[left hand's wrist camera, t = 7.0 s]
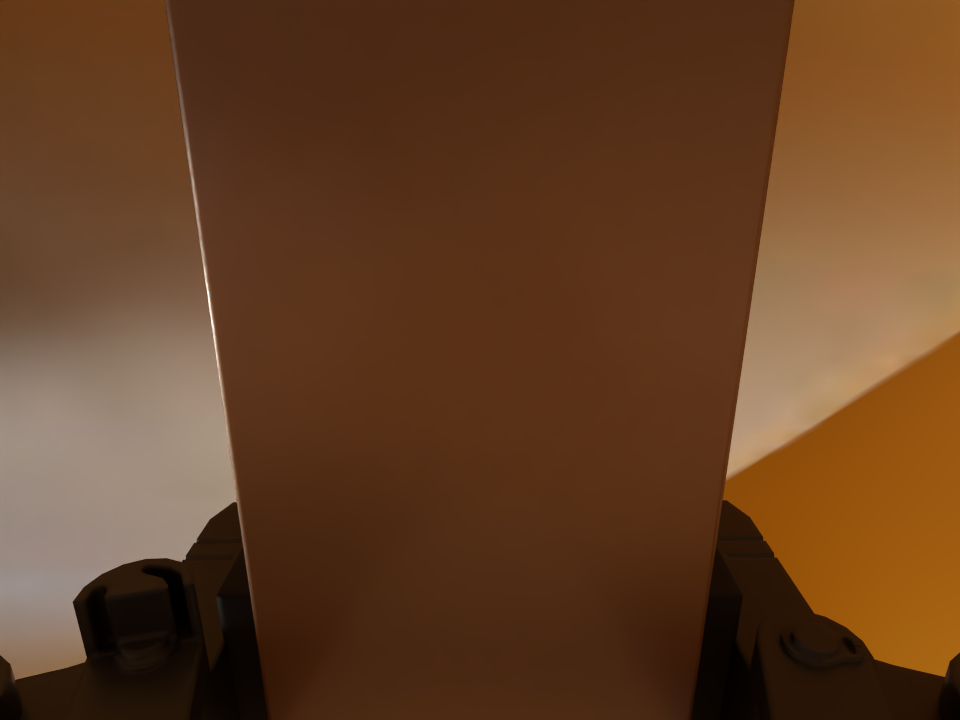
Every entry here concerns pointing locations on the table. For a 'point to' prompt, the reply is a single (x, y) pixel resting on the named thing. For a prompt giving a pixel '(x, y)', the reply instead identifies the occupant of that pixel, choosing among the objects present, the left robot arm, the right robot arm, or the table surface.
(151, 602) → the left robot arm
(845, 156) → the table surface
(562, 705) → the bar
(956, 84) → the table surface
